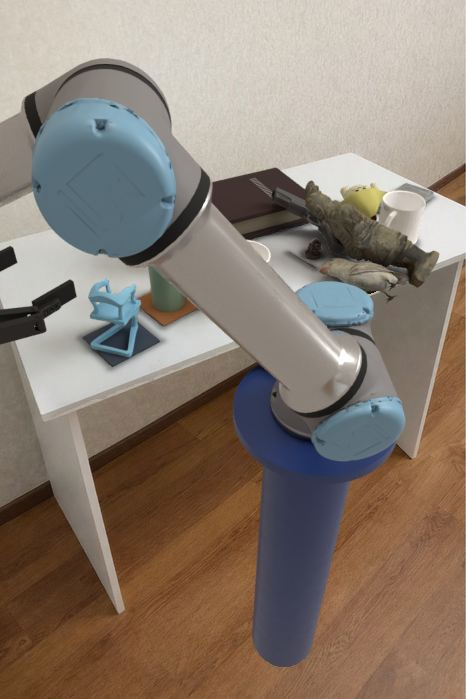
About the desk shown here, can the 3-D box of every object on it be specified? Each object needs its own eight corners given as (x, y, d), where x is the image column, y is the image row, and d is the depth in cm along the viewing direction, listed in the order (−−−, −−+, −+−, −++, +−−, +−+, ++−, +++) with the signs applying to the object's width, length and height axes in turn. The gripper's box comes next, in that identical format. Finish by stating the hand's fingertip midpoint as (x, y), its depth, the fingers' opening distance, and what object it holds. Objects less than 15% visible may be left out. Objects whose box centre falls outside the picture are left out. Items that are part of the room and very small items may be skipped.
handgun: (267, 224, 122) (269, 195, 130) (347, 260, 126) (344, 230, 135) (273, 213, 120) (275, 184, 129) (354, 250, 124) (351, 220, 133)
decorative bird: (316, 283, 120) (334, 267, 125) (390, 308, 112) (406, 291, 117) (318, 259, 117) (336, 244, 121) (394, 284, 109) (410, 267, 114)
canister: (192, 303, 114) (189, 259, 107) (165, 316, 111) (161, 272, 104) (172, 288, 117) (168, 244, 111) (145, 301, 114) (140, 257, 107)
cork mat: (205, 304, 114) (205, 303, 114) (163, 326, 109) (163, 325, 109) (174, 282, 119) (174, 280, 119) (133, 301, 114) (133, 300, 114)
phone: (434, 196, 147) (435, 192, 146) (403, 221, 138) (404, 216, 137) (404, 187, 151) (405, 182, 150) (372, 210, 142) (373, 205, 141)
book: (271, 186, 150) (273, 164, 146) (314, 221, 137) (316, 198, 133) (170, 211, 140) (168, 188, 137) (205, 251, 128) (205, 227, 124)
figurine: (315, 268, 123) (317, 251, 120) (288, 252, 127) (289, 236, 125) (333, 259, 126) (335, 242, 123) (305, 243, 130) (307, 227, 127)
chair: (149, 329, 108) (143, 274, 100) (129, 358, 102) (121, 303, 94) (112, 320, 110) (102, 266, 102) (90, 348, 104) (78, 293, 96)
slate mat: (160, 341, 106) (160, 340, 106) (112, 366, 101) (112, 365, 101) (128, 315, 111) (128, 314, 111) (82, 338, 106) (82, 336, 106)
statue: (406, 298, 124) (283, 227, 125) (428, 260, 125) (305, 190, 126) (423, 289, 113) (288, 212, 114) (447, 248, 113) (312, 171, 115)
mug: (393, 223, 137) (401, 186, 131) (425, 240, 132) (434, 202, 125) (358, 240, 131) (364, 202, 125) (390, 258, 126) (398, 219, 120)
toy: (376, 172, 142) (401, 188, 129) (379, 200, 145) (404, 217, 132) (323, 188, 142) (342, 205, 129) (327, 215, 145) (347, 234, 132)
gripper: (-134, 328, 81) (-3, 262, 94) (-30, 414, 70) (104, 325, 82) (-158, 284, 76) (-16, 220, 89) (-50, 368, 65) (96, 280, 77)
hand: (42, 270), depth 85 cm, fingers open, 13 cm apart
